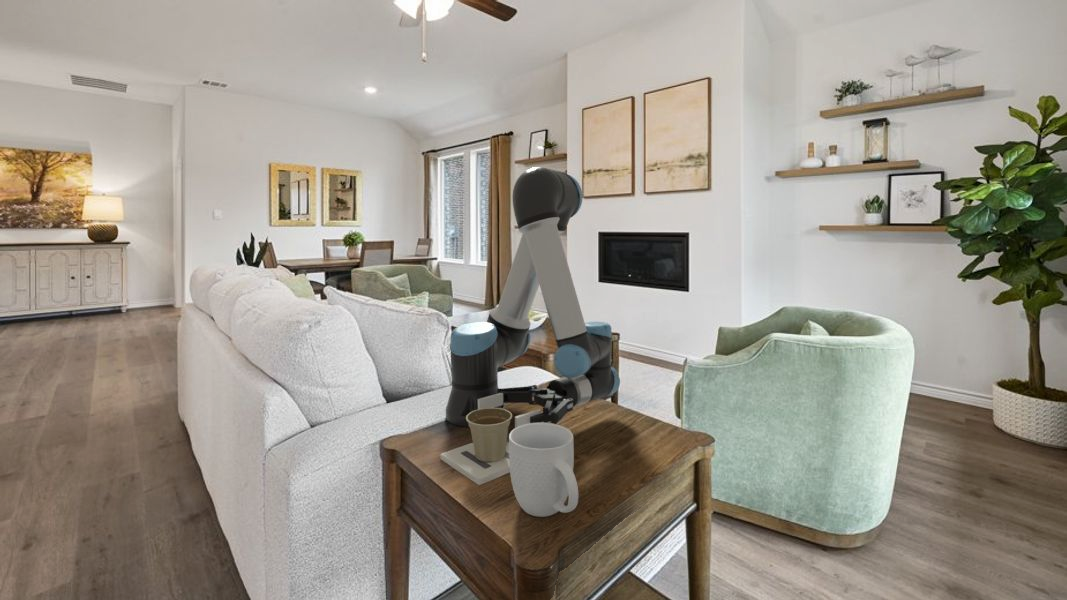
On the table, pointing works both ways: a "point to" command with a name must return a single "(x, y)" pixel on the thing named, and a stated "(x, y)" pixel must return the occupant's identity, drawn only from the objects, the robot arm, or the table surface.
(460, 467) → the letter board
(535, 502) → the mug
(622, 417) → the table surface
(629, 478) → the table surface
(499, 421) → the flower pot
